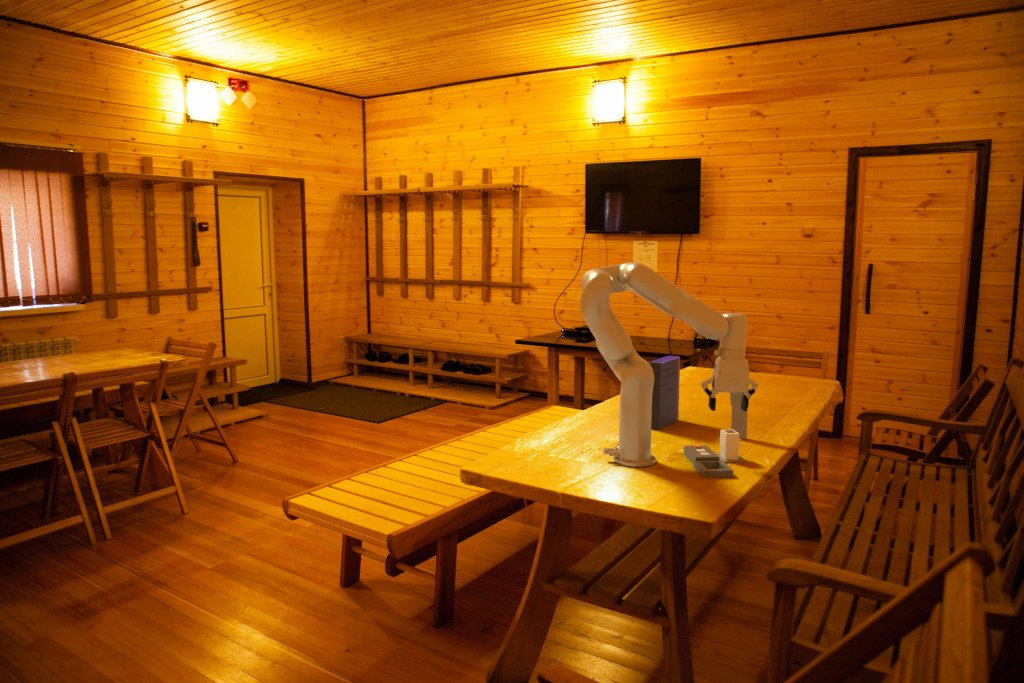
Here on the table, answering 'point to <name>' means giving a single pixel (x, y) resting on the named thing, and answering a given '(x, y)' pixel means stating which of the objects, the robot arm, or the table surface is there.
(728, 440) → the plug
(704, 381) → the robot arm
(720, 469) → the charging dock
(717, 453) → the rubber mat
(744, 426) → the vintage mobile phone
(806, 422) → the table surface
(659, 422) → the cereal box
